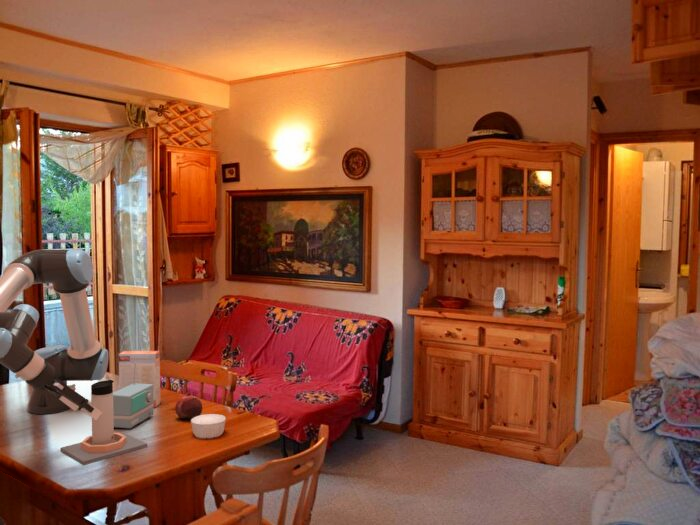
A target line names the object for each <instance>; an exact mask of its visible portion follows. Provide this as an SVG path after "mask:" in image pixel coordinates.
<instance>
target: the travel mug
mask: <svg viewBox="0 0 700 525" xmlns="http://www.w3.org/2000/svg"><path fill="white" fill-rule="evenodd" d="M113 383H114V380H113V379H108V380H102V381H101V380H99V381H97V382H94V383H92V384H91V385H90V390H91V391H90V399H91V400H90V403H91V404H92V405H93V406H95V407H96V408H97V409H98V410H100V411H101V412H102V414H101V415H100V416H99V418H98V419H97V420H94V419H93V418H92V417H91V436H92V445H107V444H111V443H114V433H115V429H114V428H115V427H114V416H113V393H114V391H113V390H114V389H113Z"/></svg>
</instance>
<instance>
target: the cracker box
mask: <svg viewBox="0 0 700 525" xmlns="http://www.w3.org/2000/svg"><path fill="white" fill-rule="evenodd" d="M160 359H161V358H160V350H123V351H122V352H120V353H118V379H119V380H118V384H119V386H118V388H119V389H118V390H120V389H122V388H124V387H127V386H129V385H131V384H133V383H134V370H135V362H136V371H135V383H140V384H153V405H154V406H153V407H154V408H157V407H159V405H160V404H161V364H160V363H161V361H160Z"/></svg>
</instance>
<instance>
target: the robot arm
mask: <svg viewBox="0 0 700 525" xmlns="http://www.w3.org/2000/svg"><path fill="white" fill-rule="evenodd" d="M93 265H94V264H93V261H92V259H91V257H90V255H89V253H88V252H86V251H85V250H82V249H74V248H70V249H45V248H44V249H36V250H35V249H34V250H31V251H29V252H26V253H24V254H22V255H20V256H19V257H16V258H15V259H14V260H13V261H11V262H9V263H8V264H7V265H6V267H5V268H4V269H3V273H2V276H1V277H0V364H1V365H2V366H3V367H4V368H6V369H7V370H9V371H10V372H11V373H13V374H15V375H14V378H16V379H18V378H20V379H21V380H23V381H25V383H26V384H28V386H30V387H32V390H31V394H30V397H29V400H28V402H27V403H28V404H27V412H28V413H30V414H35V415H49V414H56V413H61V412H65V411H67V410H69V409H70V410H71V409H72V410H73V411H75V412H76V411H77V410H79V411H81V410H82V411H83V412H84V413H85V414H87V415H88V416H89V417H91V419H92V418H93V419H94V420H97V419H98V418H99V416H100V415H101V414H102V412H101V411H100V410H98V409H97V408H96V407H95V406H93V405H92V404H91V402H90V401H89V399H88V398H86V397H84V396H83V395H81V394H80V393H78V392H77V391H75V390H74V389H73V388H72V387H69V385H68V382H74V381H78V382H79V381H82V382H84V381H88V382H89V381H90V382H93V381H101V380H102V379H103V378H105V375H106V373H107V369H108V366H109V355H110V354H109V350H108V349H106V348H102V345H101V342H100V341H99V340H96V336H95V330H94V325H93V321H92V316H91V310H90V304H89V300H88V295H87V288H88V287H89V285H90V283H91V282H92V280H93V278H94V266H93ZM36 284H51V285H52V289H53V291H54V292H55V293H57V294H59V298H60V302H61V308H62V312H63V317H64V322H65V326H66V331H67V335H68V340H69V343H70V344H69V347H67V346H66V345H65V344H57V345H51V346H46V347H42V348H39V349H36V350H32V349H31V348H30V346H28V344H29V341H30V339H31V337H32V335H33V334H34V331H35V329H36V328H37V326H38V321H39V318H40V313H39V311H38V310H37V309H36V308H35V307H34V306H32V305H30V304H26V303H21V304H18V305H15V306H14V308H12V309H11V311H7V309H8V308H10V306H11V305H12V304H13V303H14V302H15V300H16V299H17V298H18V296H20V294H21V293H22V292H23V290H27V289H28V288H30V287H32V285H36Z"/></svg>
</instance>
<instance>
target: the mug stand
mask: <svg viewBox="0 0 700 525" xmlns="http://www.w3.org/2000/svg"><path fill="white" fill-rule="evenodd" d="M59 448H60V449H59V450H60V452H62V453H63V454H65V455H66V456H68V457H70V458H72V459H73V460H75V461H77V462H79V464H81V465H84V466H85V465H88V464H91V463H95V462H99V461H103V460H106V459H110V458H112V457H116V456H120V455H124V454H126V453H127V454H128V453H131V452H133V451H137V450H141V449H144V448H148V443H147V442H145V441H142V440H140V439H138V438H136V437H134V436H131V435H129V434H127V433H126V432H123V431H121V432H114V443H111V444H107V445H92V435H89V436H86V437H85V438H84V439H83V440H82V441H81V442H77V443H73V444H70V445H65V446H62V447H59Z"/></svg>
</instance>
